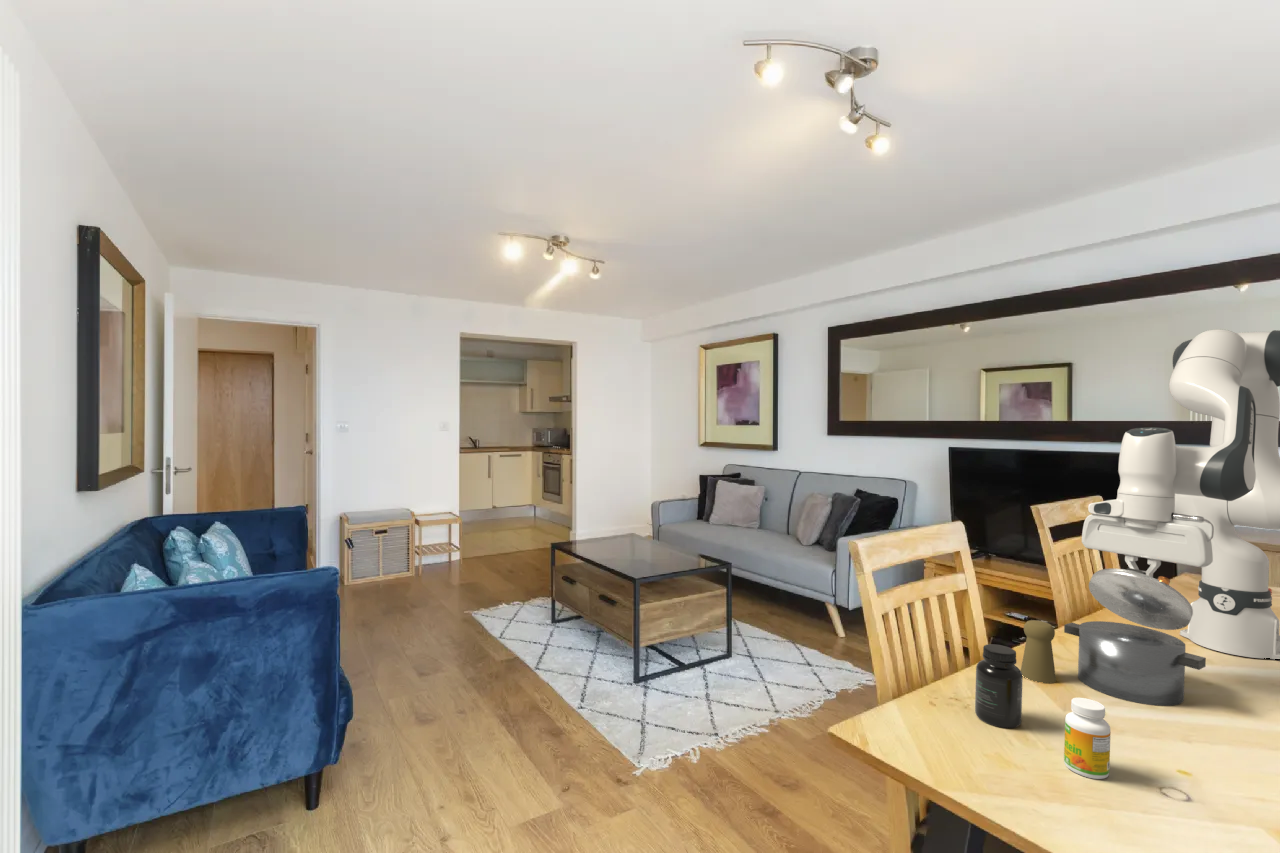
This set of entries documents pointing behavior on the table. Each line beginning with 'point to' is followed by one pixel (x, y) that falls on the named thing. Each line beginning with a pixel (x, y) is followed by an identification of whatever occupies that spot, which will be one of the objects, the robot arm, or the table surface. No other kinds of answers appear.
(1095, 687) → the cooker pot
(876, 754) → the table surface
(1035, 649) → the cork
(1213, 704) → the table surface
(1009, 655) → the supplement bottle
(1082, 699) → the supplement bottle
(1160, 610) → the cooker lid
